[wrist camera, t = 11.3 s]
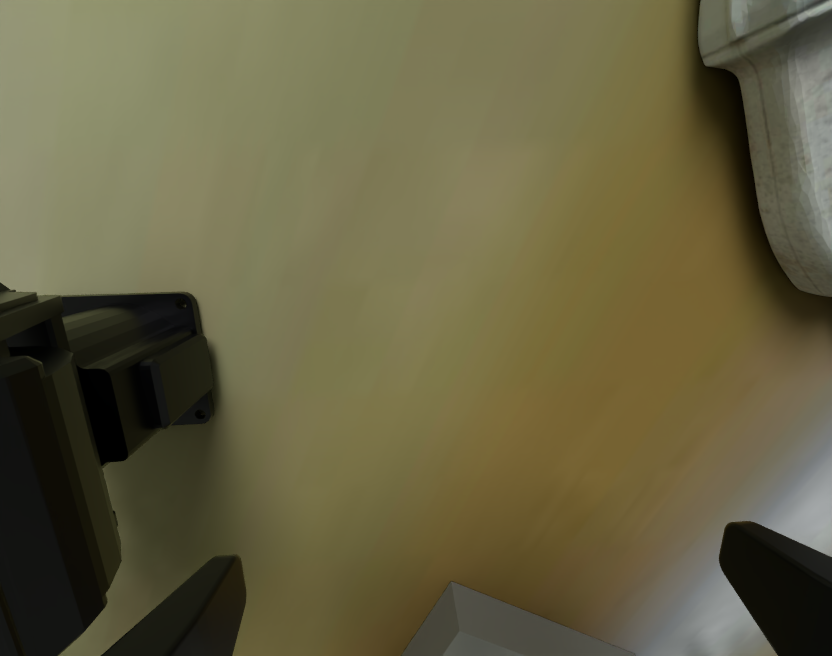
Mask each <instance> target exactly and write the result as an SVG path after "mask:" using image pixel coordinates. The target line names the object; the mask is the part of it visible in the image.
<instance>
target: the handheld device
mask: <svg viewBox="0 0 832 656" xmlns="http://www.w3.org/2000/svg"><path fill="white" fill-rule="evenodd" d="M698 45H699V50H700V54H701V57H702V60H703V62H704V65H705V66H707V67H715V68H721V69H726V70H728V71H731V72H733V73H734V74H735V75H736V76H737V78H738V80H739V83H740V87H741V93H742V98H743V105H744V111H745V118H746V125H747V132H748V140H749V148H750V154H751V161H752V168H753V173H754V180H755V186H756V195H757V199H758V207H759V211H760V215H761V219H762V222H763V225H764V229H765V232H766V235H767V238H768V240H769V243H770V246H771V249H772V251H773V253H774V255H775V257H776V259H777V260H778V262H779V264H780V266H781V268H782V269H783V270H784V272H785V273H786V275H787V276H788V278H789V279H790V280H791V282H792V283H793V284H794V285H795V286H796V287H797V288H798V289H799V290H801V291H804V292H808V293H812V294H816V295H820V296H827V297H832V0H701V2H700V10H699V22H698Z"/></svg>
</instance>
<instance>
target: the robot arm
mask: <svg viewBox="0 0 832 656" xmlns="http://www.w3.org/2000/svg"><path fill="white" fill-rule="evenodd" d="M180 299H184V300H185V301H186V303H187V306H186V308H184V307H182V306H181V305H180ZM213 386H214V383H213V377H212V371H211V364H210V358H209V352H208V346H207V340H206V338H205V337H204V336H203V335H202V333H201V327H200V321H199V315H198V309H197V303H196V300H195V298H194V297H193V295H192V294H190V293H188V292H160V293H129V294H98V295H68V296H61V295H40V296H37V292H16V290H10V289H9V288H7V287H6V286H4V285H3V284H2V283H0V656H58V655H60V654H61V653H62V652H63V651H64V650H65V649H66V648H67V647H68V646H70V645H71V644H72V643H73V642H74V641H75V640H76V639H77V638H78V637H80V636H81V634H82V633H83V632H84V631H85V630H86V629H87V628H88V627H89V626H90V624H91V623H92V622H93V621H94V620H95V618H96V617H97V616H98V615H99V614H100V613H101V611H102V610H103V609H104V608H105V606H106V604H107V597H106V594H105V593H106V592H107V590H108V589H109V588H110V585H111V583H112V581H113V579H114V577H115V574H116V572H117V570H118V568H119V566H120V563H121V561H122V560H121V541H120V537H119V533H118V529H117V526H118V522H117V518H116V514H115V511H113V510H112V506H111V502H110V498H109V494H108V490H107V486H106V482H105V478H104V474H103V470H102V468H104V467H105V466H106V465H107V464H108V463H110V462H118V461H124V460H126V459H127V458H128V457H129V456H130V455H132V454H133V453H134V452H135V451H136V450H137V449H138V448H140V447H141V446H142V445H143V444H144V443H145V442H146V441H148V440H149V439H150V438H151V437H152V436H153V435H154V434H156V433H157V432H158V431H159V430H160V429H166V428H168V427H169V426H170V425H186V424H203V423H206V422H208V421H209V420H210V419H211V418H212V416H213V415H214V406H213V400H212V394H211V388H212V387H213ZM199 410H203V411H204V412H205V414H206V415H201V414H200V413H199ZM719 563H720V566H721V569H722V571H723V573H724V575H725V576H726V578H727V579H728V581H729V582H730V584H731V585H732V587H733V588H734V590H735V591H736V593H737V594H738V596H739V597H740V599H741V600H742V602H743V603H744V605H745V606H746V608H747V610H748V611H749V613H750V614H751V616H752V617H753V619H754V620H755V622H756V623H757V625H758V626H759V628H760V629H761V631H762V632H763V634H764V635H765V637H766V638H767V640H768V641H769V643H770V645H771V646H772V648H773V649H774V651H775V652H776V653H777V655H778V656H832V557H830V556H828V555H825V554H823V553H821V552H819V551H817V550H814V549H812V548H810V547H808V546H806V545H803V544H801V543H799V542H797V541H795V540H792V539H790V538H788V537H786V536H784V535H781V534H779V533H777V532H775V531H773V530H770V529H768V528H766V527H764V526H762V525H759V524H757V523H755V522H751V521H742V522H731V523H728V524H727V525H726V527H725V529H724V534H723V539H722V544H721V549H720V554H719ZM245 603H246V587H245V581H244V575H243V568H242V562H241V559H240V557H239V556H238V555H220V556H215V557H213V558H212V559H211V560H209V561H208V562H207V563H206V564H205V565H204V566H202V567H201V568H200V569H199V570H198V571H197V572H196V573H194V574H193V575H192V576H191V577H190V578H189V579H188V580H187V581H185V582H184V583H183V584H182V585H181V586H180V587H179V588H177V589H176V590H175V591H174V592H173V593H172V594H171V595H169V596H168V597H167V598H166V599H165V600H164V601H163V602H161V603H160V604H159V605H158V606H157V607H156V608H155V609H154V610H152V611H151V612H150V613H149V614H148V615H147V616H146V617H144V618H143V619H142V620H141V621H140V622H139V623H138V624H136V625H135V626H134V627H133V628H132V629H131V630H130V631H128V632H127V633H126V634H125V635H124V636H123V637H122V638H121V639H119V640H118V641H117V642H116V643H115V644H114V645H113V646H111V647H110V648H109V649H108V650H107V651H106V652H105V653H103V654H102V655H101V656H232V655H233V651H234V647H235V643H236V639H237V635H238V631H239V627H240V624H241V620H242V616H243V612H244V608H245Z"/></svg>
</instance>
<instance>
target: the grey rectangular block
mask: <svg viewBox="0 0 832 656" xmlns="http://www.w3.org/2000/svg"><path fill="white" fill-rule="evenodd" d="M401 656H636V655H635V654H633V653H631V652H628V651H626V650H623V649H621V648H618V647H616V646H613V645H611V644H608V643H606V642H603V641H601V640H598V639H596V638H593V637H590V636H588V635H585V634H583V633H580V632H578V631H575V630H573V629H570V628H568V627H565V626H563V625H560V624H558V623H555V622H553V621H550V620H548V619H545V618H543V617H540V616H538V615H535V614H533V613H530V612H528V611H525V610H522V609H520V608H517V607H515V606H512V605H510V604H507V603H505V602H502V601H500V600H497V599H495V598H492V597H490V596H487V595H485V594H482V593H480V592H477V591H475V590H472V589H470V588H467V587H465V586H462V585H460V584H457V583H454V582H452V581H451V582H450V584H449V585H448V587H447V588H446V590H445V591H444V593H443V594H442V596H441V597H440V599H439V600H438V601H437V603H436V604H435V606H434V607H433V609H432V610H431V612H430V613H429V615H428V616H427V618H426V619H425V621H424V622H423V624H422V625H421V627H420V628H419V630H418V631H417V633H416V634H415V636H414V637H413V639H412V640H411V642H410V643H409V645H408V646H407V648H406V649H405V651H404V652H403V654H402V655H401Z"/></svg>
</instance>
